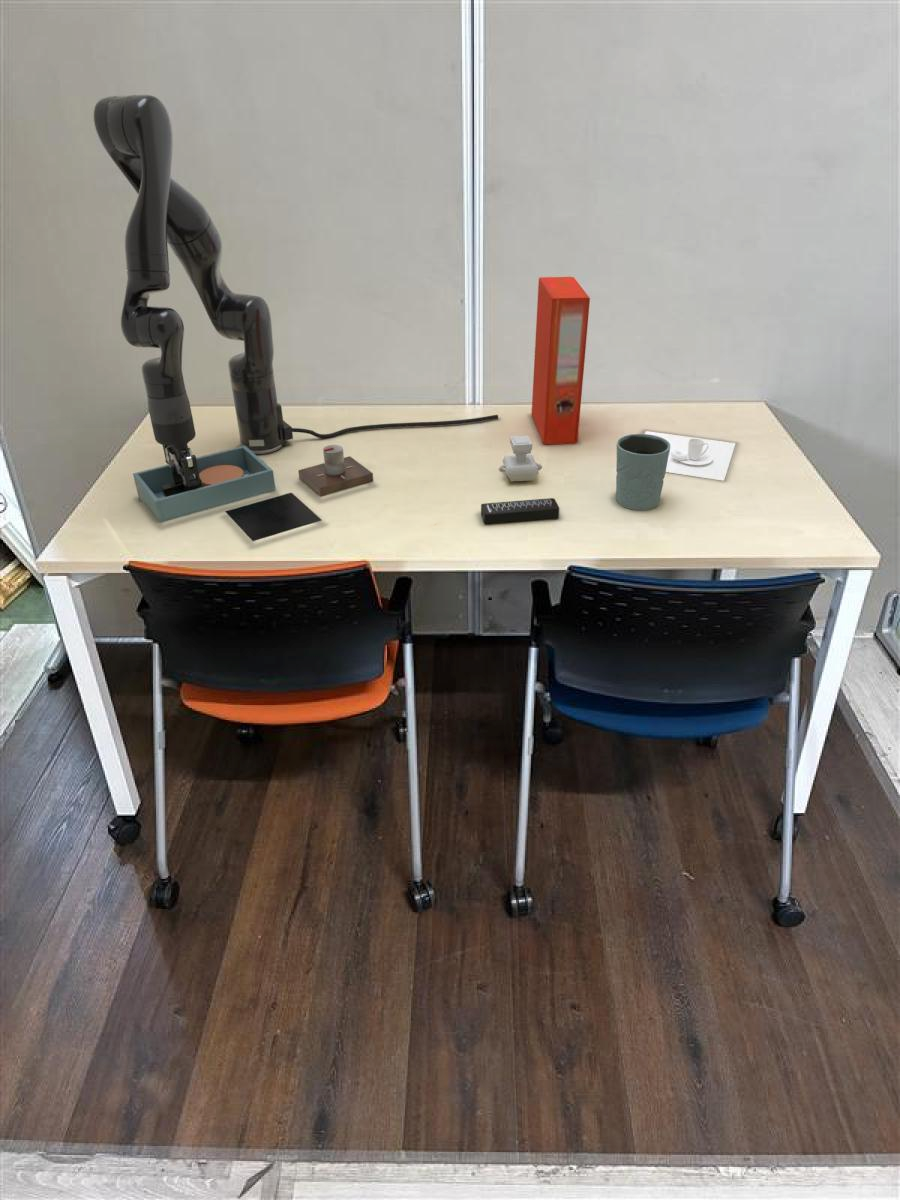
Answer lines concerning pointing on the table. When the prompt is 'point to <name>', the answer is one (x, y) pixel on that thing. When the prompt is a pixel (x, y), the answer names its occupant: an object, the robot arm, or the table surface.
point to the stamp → (520, 461)
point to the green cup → (640, 470)
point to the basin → (209, 495)
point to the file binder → (559, 358)
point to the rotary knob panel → (335, 477)
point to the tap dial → (334, 460)
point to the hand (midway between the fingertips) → (187, 493)
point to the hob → (272, 516)
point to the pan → (206, 478)
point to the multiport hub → (519, 511)
